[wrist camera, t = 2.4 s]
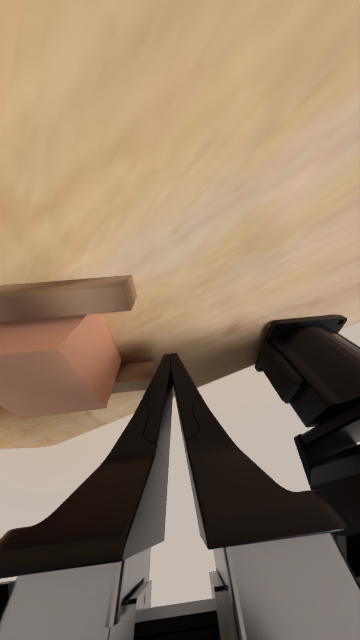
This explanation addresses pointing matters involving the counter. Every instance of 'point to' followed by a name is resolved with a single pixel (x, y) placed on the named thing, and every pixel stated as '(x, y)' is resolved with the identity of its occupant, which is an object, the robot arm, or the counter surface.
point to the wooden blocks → (78, 312)
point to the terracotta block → (56, 365)
